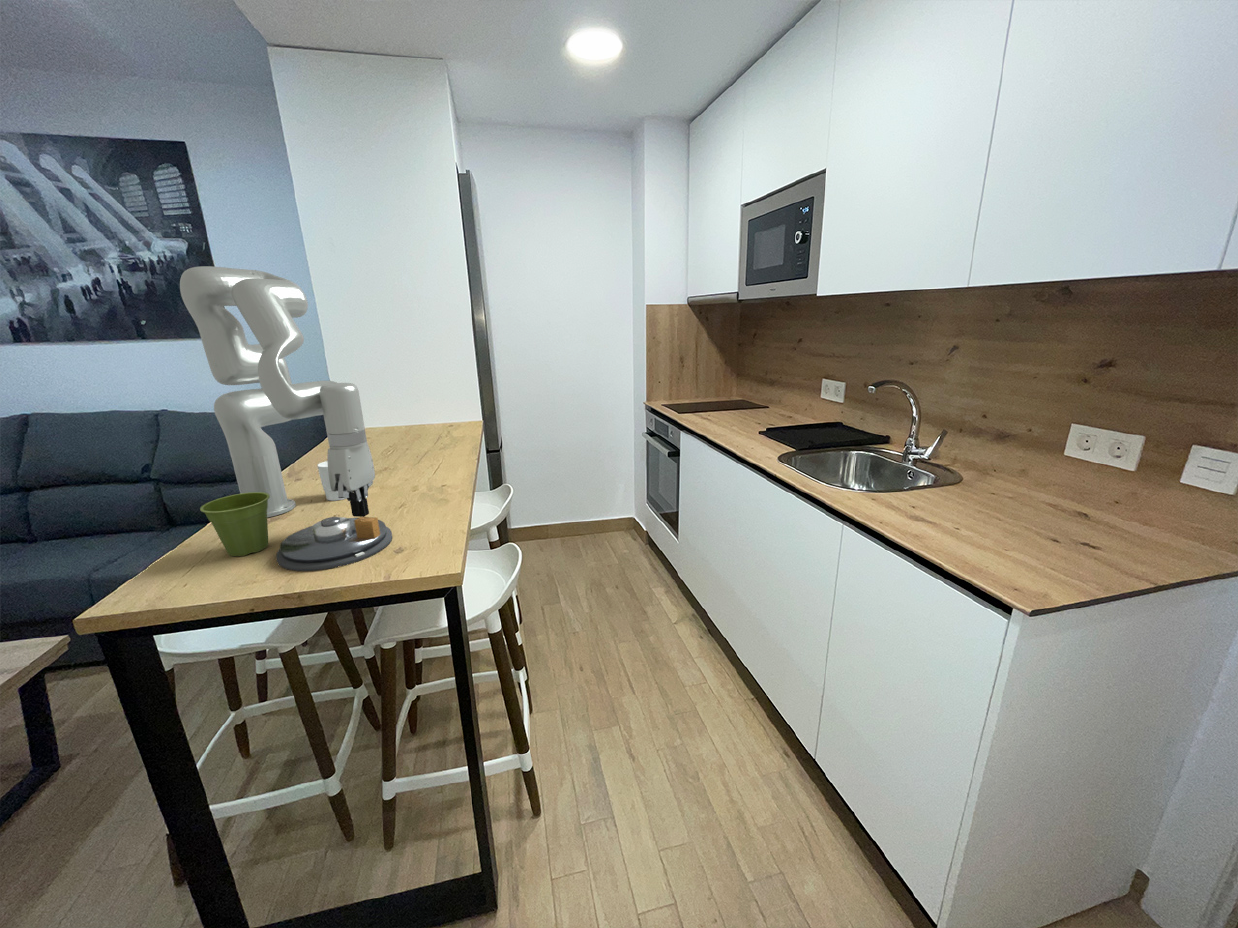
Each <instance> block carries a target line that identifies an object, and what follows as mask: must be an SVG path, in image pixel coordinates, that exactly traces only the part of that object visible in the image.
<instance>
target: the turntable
mask: <svg viewBox="0 0 1238 928" xmlns="http://www.w3.org/2000/svg"><path fill="white" fill-rule="evenodd" d="M347 518H348V519H349V520H350V526H351V531H352V534H351V535H350V536H349V537H347V538H345V539H343V540H340V541H337V542H332V543H317V542H315V539H314V535H313V530H312V526H313V525H310V526H307V527H305V528H302V529H300V530H297V531H296V532H294V533H292V534H290V535H289V536H287V537H285V538H284V539H283V540H282V542H281V543H280V545H279V549H280V550H281V554H282V557H283V558H285V559H286V560H289V561H292V562H300V563H314V562H324V561H330V560H336V559H340V558H344V557H348V556H351V555H354V554H357V553H360V552H363V551H365V550H367V549H369V548H371V547H373V546H375V545H377V544H378V543H380V542H381V541H382V540H383V539H384V538H385V536H386V534H387V531H386V527H387V525H386V523H385V522H384V521H382V520H380V519H378V517H374V516H373V517H371V516H365V517H347Z"/></svg>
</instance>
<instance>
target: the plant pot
mask: <svg viewBox="0 0 1238 928" xmlns="http://www.w3.org/2000/svg"><path fill="white" fill-rule="evenodd" d="M269 497H270V495H269V494H268V493H264V492H250V493H241V494H240V493H236V494H232V495H226V496H224V497H223V496H222V497H219V498H216V499H214V500H211V501H209V502H206V503H204V504H203V505H201V506H200V508H199V509H200V512H201V513H204V514H205V515H206V517H207V519H208V521H209V522H210V523H211V525H212V526H213V528H214V530H215V532H216V534H217V535H218V538H219V539H220V541H221V543H222V545H223V547H224V549H225V551H226V553H227V554H228V555H229V556H230V557H231V556H232V557H245V556H248V555H249V554H251V553H258V552H261V551H262V550H264V549H266V548H267V547H268V546H269V527H268V517H267V508H268V499H269Z"/></svg>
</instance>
